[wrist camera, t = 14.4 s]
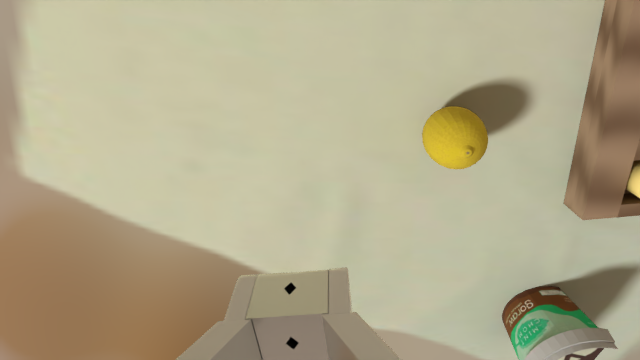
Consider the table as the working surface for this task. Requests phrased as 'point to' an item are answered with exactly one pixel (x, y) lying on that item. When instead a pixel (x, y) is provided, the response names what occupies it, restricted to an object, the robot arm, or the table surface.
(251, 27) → the table surface
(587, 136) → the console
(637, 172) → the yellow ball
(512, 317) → the food container
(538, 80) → the table surface
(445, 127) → the lemon
